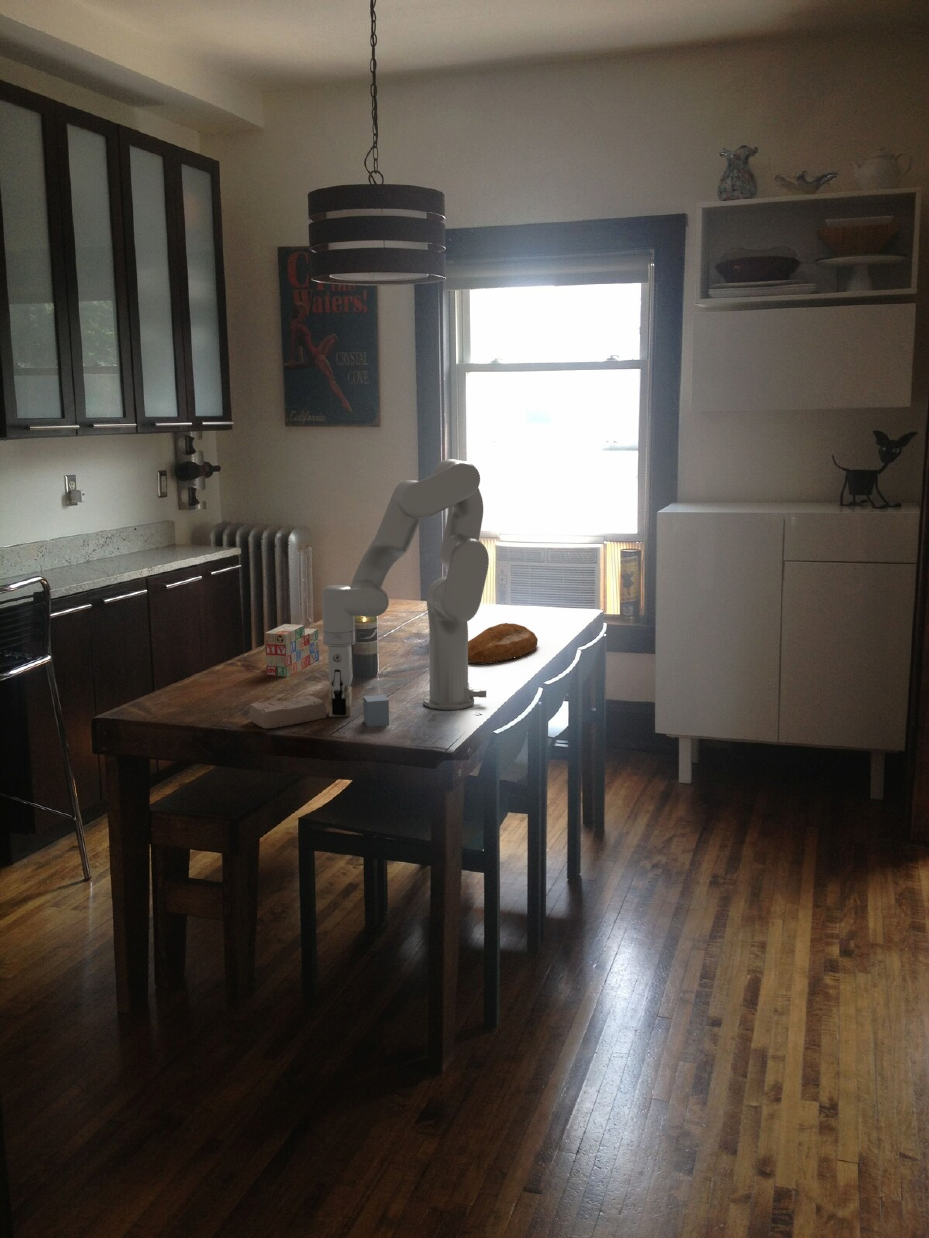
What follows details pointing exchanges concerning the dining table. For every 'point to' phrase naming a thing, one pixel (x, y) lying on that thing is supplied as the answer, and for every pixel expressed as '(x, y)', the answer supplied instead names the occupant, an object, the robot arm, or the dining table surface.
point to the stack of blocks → (290, 649)
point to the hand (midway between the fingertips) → (340, 710)
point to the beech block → (348, 701)
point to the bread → (501, 643)
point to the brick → (287, 712)
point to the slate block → (376, 710)
